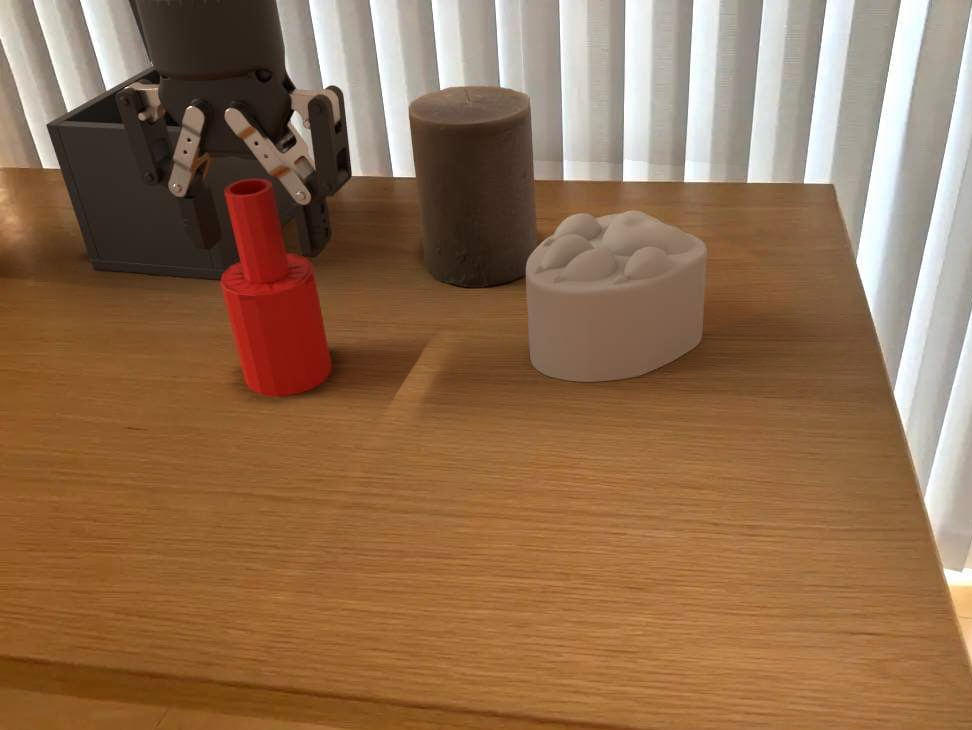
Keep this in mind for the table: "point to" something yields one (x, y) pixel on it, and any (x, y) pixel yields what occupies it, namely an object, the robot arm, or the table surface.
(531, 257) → the lumpy-topped squat cylinder
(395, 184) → the table surface
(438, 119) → the pillar candle
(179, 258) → the bin
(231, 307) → the bottle
